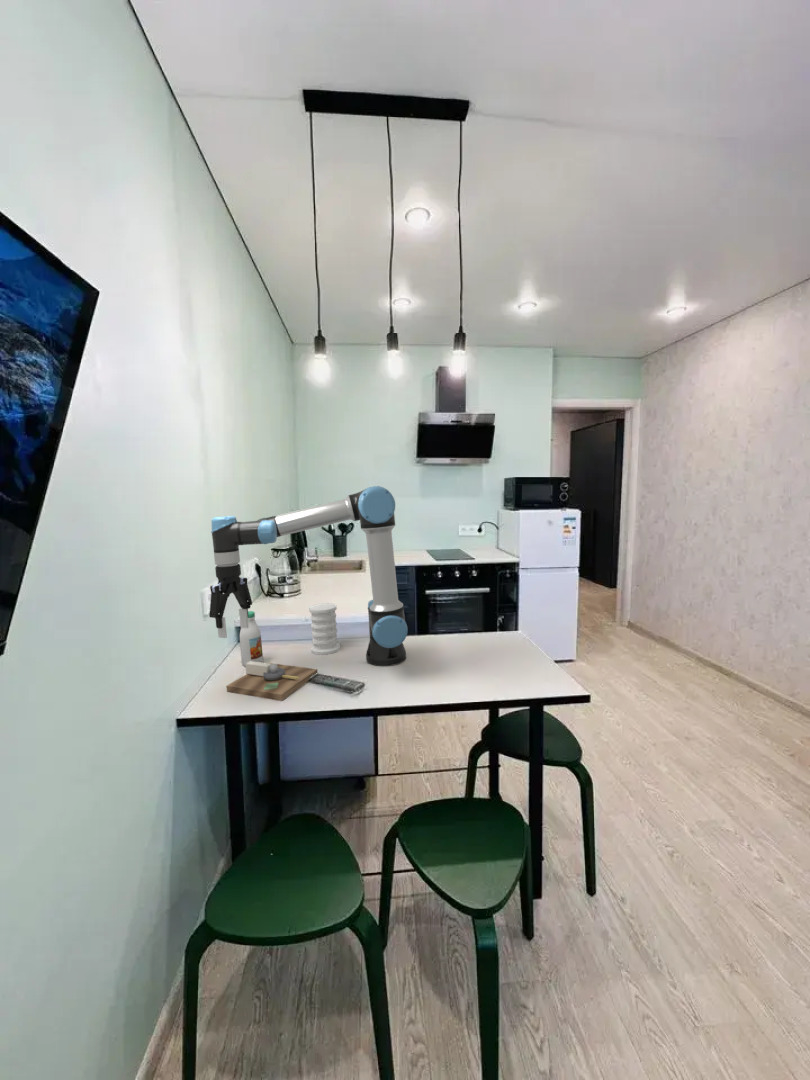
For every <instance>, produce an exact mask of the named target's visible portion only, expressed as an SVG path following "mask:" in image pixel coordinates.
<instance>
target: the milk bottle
mask: <svg viewBox="0 0 810 1080" xmlns="http://www.w3.org/2000/svg"><path fill="white" fill-rule="evenodd" d="M255 614H256V612H255V611H253V610H251V611H250V610H248V627H249V628H247V629H246V628H241V627H240V631H239V646H240V647H239V650H240V657H241V659H240V660H241V665H242V666H243V667H245V668H246V663H248V662H250V661H253V662H261V663H264V662H263V661H264V656H263V644H262V642H263V641H262V635H261V630H260V627H259V626H258V624H257V621H256V620H255V618H256V615H255Z"/></svg>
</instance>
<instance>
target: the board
mask: <svg viewBox="0 0 810 1080" xmlns="http://www.w3.org/2000/svg"><path fill="white" fill-rule="evenodd" d="M268 663H269V664H271V665H272V664H274V663H272V662H268ZM276 664H277V667H278V668H283V669H284V670H285V675H289V676H296V677H298V678H299V679H290V678H280V679H278V680H265V679H264V676H259V675H252V674H246V673H245V675H242V676H241V677H239V678H237V679H236V680H234V681H232V682H231V683H228V684H227V685H226V692H227V693H234V694H239V695H245V696H252V697H258V698H262V699H263V698H264V699H268V700H275V701H284V700H286V699H287V698H288V697H289V696H291V695H292V694H294V693H295V692H296V691H298V690H299V689H300V688H301V687H303V686H304V685H305V683H306V684H307V683H308V682H309V681H308V680H309V678H310V677H311V676H312V675H314V674H316V673H319V672H318V669H317V668H312V667H303V666H297V665H288V664H280V663H276ZM307 681H308V682H307Z"/></svg>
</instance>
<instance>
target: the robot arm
mask: <svg viewBox="0 0 810 1080" xmlns="http://www.w3.org/2000/svg"><path fill="white" fill-rule="evenodd" d="M395 511H396V499H395V497H394V496H393V494H392V492H391V491H389V490H388V489H387V488H385V487H383V486H379V485H378V486H377V485H374V486H369V487H367V488H364V489H363V490H361V491H359V492H356V493H353V494H348V495H347V496H346V498H343V499H339V500H335V501H331V502H326V503H324V504H323V503H322V504H319V505H314V506H311V507H306V508H302V509H298V510H294V511H293V510H292V511H289V512H285V513H281V514H276V515H274V516H273V515H272V516H269V517H261V518H259V519H257V520H251V521H249V520H248V521H238V520H237V517H236V516H235V515H227V516H226V515H225V516H216V517H213V518H212V519H211V520H210V521H211V536H212V538H211V539H212V546H213V556H214V557H213V558H214V564H215V565H216V566H215V568H214V569H215V577H216V579H217V581H218V582H217V584H216V585H210V587H209V589H210V603H209V614H208V615H209V618H213V619H215V628H216V629H217V635H218V636H217V637H218V638H221V639H227V638H228V633H227V623H226V617H225V616H224V614H225V610H226V606H227V602H228V598H229V597H230V595H231V594H233V595H234V597H235V599H236V602H237V603H238V605H239V607H240V608H239V609H238V613H239V614H238V615H239V623H240V629H241V628H246V629H247V628H249V627H248V611H249V609H251V606H252V605H253V600H252V597H251V596H252V595H251V593H250V589H249V586H248V578H247V577H240V576H241V575H242V569H241V568H242V567H241V564H240V562H241V557H240V556H241V555H240V548H239V546H246V545H247V546H249V545H252V546H253V545H267V544H273V543H276V542H277V540H278V539H277V538H279V537H283V536H288V535H291V534H295V533H300V532H304V531H308V530H312V529H315V528H320V527H324V526H328V525H334V524H337V523H342V522H346V521H352V522H357V521H359V525H360V529H361V531H363V532H364V533H365V536H366V545H367V546H366V547H367V554H368V555H367V556H368V557H367V558H368V564H369V573H370V574H369V575H370V576H369V577H370V583H371V593H372V599H371V600H369V601H368V603H367V610H368V627H369V628H368V629H369V642H368V646H367V650H366V653H365V657H366V658H365V659H366V662H367V663H368V664H370V665H373V666H376V667H377V666H379V667H389V666H394V665H399V664H400V663H403V662H405V661H406V660H407V651H406V648H405V645H404V643H403V642H404V641H405V640H406V638H407V637H408V631H409V630H408V625H407V622H406V619H405V618H406V617H405V609H404V603H403V602H401V601H400V600H399V593H398V585H397V584H398V583H397V574H396V564H395V553H394V544H393V533H392V530H394V529H395V526H396V519H395V518H396V517H395Z"/></svg>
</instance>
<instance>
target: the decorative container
mask: <svg viewBox="0 0 810 1080" xmlns="http://www.w3.org/2000/svg"><path fill="white" fill-rule="evenodd" d="M336 610H337V605H336V604H335V603H329V602H327V603H326V602H325V603H318V604H313V605H311V606H309V609H308V612H309V613H310V614H311V615H310V621H311V624H310V626H311V629H312V630H311V635H312V641H311V642H312V644H313V645H312V646H311V648H310V651H311V653H312V654H313V655H314V656H315V655H316V656H327V655H332V654H335V653H338V652H339V651H340V650H341V644H340V643H338V639H339V638H338V635H337V634H338V628H337V620H336V618H337V614H336Z"/></svg>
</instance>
